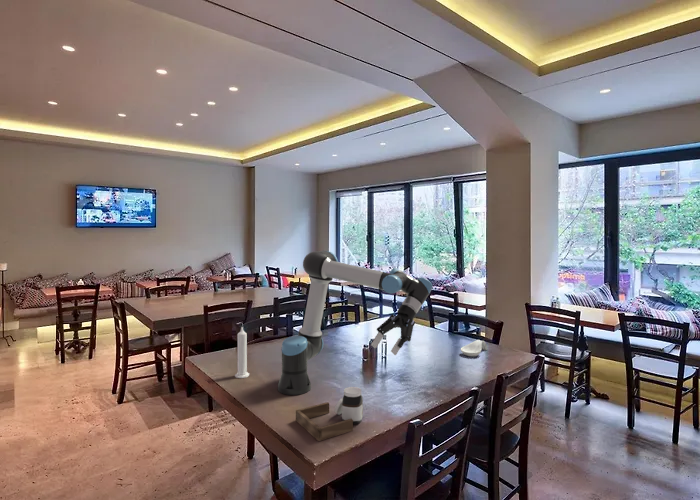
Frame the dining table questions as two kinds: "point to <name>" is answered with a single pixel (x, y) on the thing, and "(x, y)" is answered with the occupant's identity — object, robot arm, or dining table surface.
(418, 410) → the dining table surface
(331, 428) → the walnut bay
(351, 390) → the spread jar
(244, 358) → the candle
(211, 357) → the dining table surface
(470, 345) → the spoon rest
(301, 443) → the dining table surface
